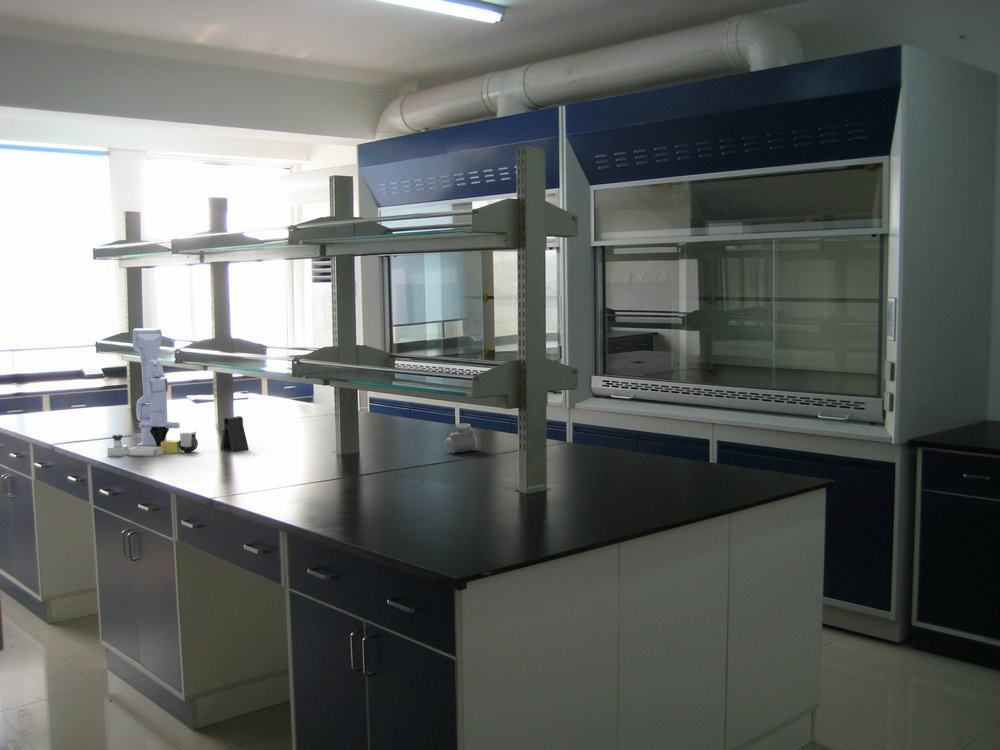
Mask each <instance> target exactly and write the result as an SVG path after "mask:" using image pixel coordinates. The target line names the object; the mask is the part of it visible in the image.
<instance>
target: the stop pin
mask: <svg viewBox="0 0 1000 750" xmlns="http://www.w3.org/2000/svg"><path fill="white" fill-rule="evenodd" d="M112 439H113V446H114V447H122V445H123V444H122V439H123V434H113V435H112Z"/></svg>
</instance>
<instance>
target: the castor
mask: <svg viewBox="0 0 1000 750" xmlns="http://www.w3.org/2000/svg"><path fill="white" fill-rule="evenodd" d="M179 436H180V439H179V440H180V441H179V447H180V449H181V450H182V451H181V452H184V453H186V454H187V453H188V454H189V453H192V452H194V451H196V450H197V449H198V444H199V442H198V439H197V431H187V430H185V431H182V432H180V433H179Z"/></svg>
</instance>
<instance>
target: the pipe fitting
mask: <svg viewBox="0 0 1000 750" xmlns="http://www.w3.org/2000/svg"><path fill="white" fill-rule="evenodd" d="M455 427H456V430H457V431H455V432H451V433H450V435H449V437H447V438H446V439H445V440H444V448H445V451H446V452H447V453H448V454H451V455H453V454H456V453H460V452H461V453H462V452H463V451H470V452H475V451H478V450H479V449H480V448H481V444H482V443H481V442H482V441H481V437H480V434H479V432H478V431H477V430H476V429H475V428H471V427H472V426H471V424H470V423H463V422H462V423H458V424H457V425H456V426H455Z"/></svg>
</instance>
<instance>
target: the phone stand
mask: <svg viewBox="0 0 1000 750" xmlns="http://www.w3.org/2000/svg"><path fill="white" fill-rule="evenodd" d="M223 423H224V426H223V431H222V437H221V444H220V450H222V451H227V452H232V453H235V452H242V451H243V452H244V451H248V450H249V449H250V448H249V445H248V444H249V443H248V441H247V436H246V431H245V428H244V418H243V416H241V415H240V416H239V415H237V416H231V417H225V418H224V419H223Z"/></svg>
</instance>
